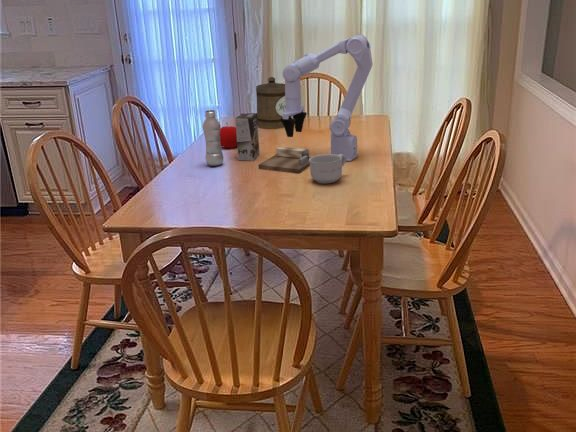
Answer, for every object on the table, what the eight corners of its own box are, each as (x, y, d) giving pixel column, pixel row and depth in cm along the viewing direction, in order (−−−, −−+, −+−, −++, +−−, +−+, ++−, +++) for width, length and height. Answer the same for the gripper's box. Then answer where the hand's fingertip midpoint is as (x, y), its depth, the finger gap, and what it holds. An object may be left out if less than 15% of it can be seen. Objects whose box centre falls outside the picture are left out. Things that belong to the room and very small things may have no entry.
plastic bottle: (227, 163, 211) (223, 109, 203) (217, 168, 205) (212, 113, 198) (212, 161, 214) (207, 108, 206) (202, 166, 208) (197, 112, 200)
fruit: (242, 143, 235) (240, 120, 232) (238, 150, 227) (236, 125, 223) (220, 144, 236) (218, 120, 233) (216, 150, 228) (213, 125, 224)
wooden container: (286, 129, 256) (284, 79, 247) (254, 129, 258) (251, 80, 250) (292, 121, 269) (290, 74, 261) (261, 121, 272) (258, 74, 263)
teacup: (320, 188, 182) (319, 164, 179) (303, 179, 191) (303, 156, 188) (356, 180, 188) (356, 157, 185) (338, 171, 197) (338, 149, 194)
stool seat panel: (316, 161, 209) (316, 151, 207) (299, 173, 197) (298, 162, 195) (277, 157, 216) (277, 147, 214) (258, 168, 203) (258, 158, 202)
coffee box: (254, 160, 212) (251, 118, 206) (237, 160, 214) (234, 118, 208) (260, 154, 221) (257, 112, 214) (244, 153, 222) (241, 112, 216)
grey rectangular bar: (310, 156, 208) (310, 149, 207) (306, 159, 206) (306, 151, 205) (279, 153, 213) (279, 146, 212) (276, 155, 211) (275, 148, 210)
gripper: (291, 93, 216) (293, 128, 221) (274, 101, 204) (276, 138, 209) (308, 94, 213) (309, 130, 218) (292, 102, 201) (293, 139, 206)
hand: (294, 134), depth 213 cm, fingers open, 7 cm apart
